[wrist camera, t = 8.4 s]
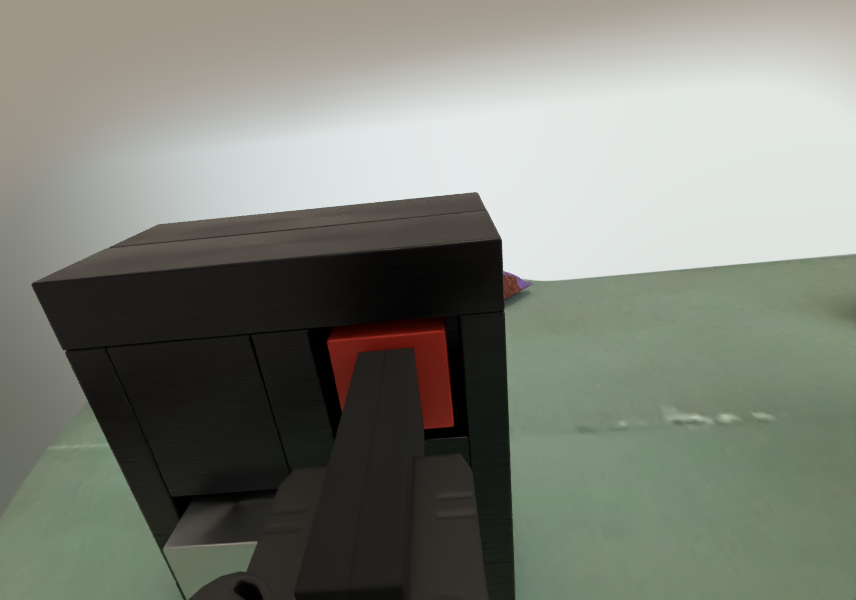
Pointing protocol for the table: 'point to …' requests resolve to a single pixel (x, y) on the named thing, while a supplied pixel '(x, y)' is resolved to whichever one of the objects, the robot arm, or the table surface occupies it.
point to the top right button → (397, 335)
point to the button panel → (283, 347)
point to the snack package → (513, 284)
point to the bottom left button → (217, 536)
